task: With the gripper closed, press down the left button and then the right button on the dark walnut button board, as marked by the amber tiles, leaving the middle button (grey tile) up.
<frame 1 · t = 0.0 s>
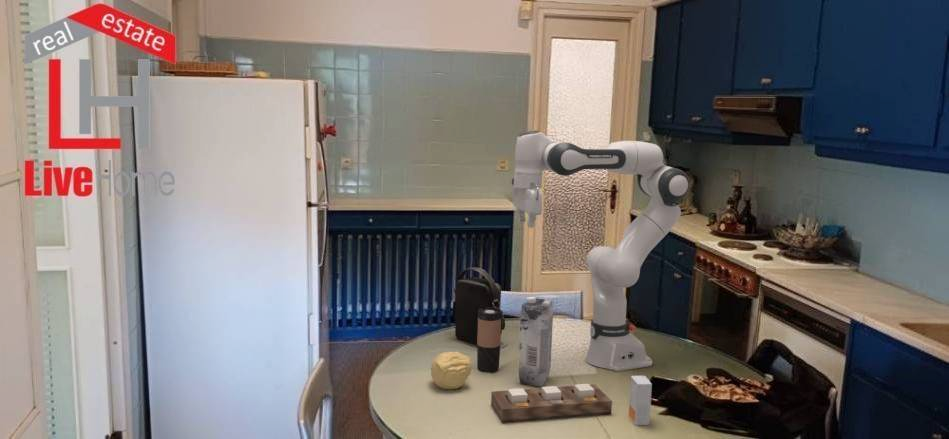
hand: (526, 224, 219), 48 cm above the table, fingers open, 8 cm apart
travel mug: (488, 369, 224), on the table
button board: (550, 409, 195), on the table
button 2: (583, 392, 196), point 5 cm above the table, slide at 0.0 cm
juice carton: (534, 381, 215), on the table
button 1: (517, 397, 192), point 4 cm above the table, slide at 0.0 cm
skincare box: (638, 421, 189), on the table
sculpture: (449, 385, 210), on the table
button middle: (551, 394, 194), point 4 cm above the table, slide at 0.0 cm
shoulder bag: (475, 342, 250), on the table
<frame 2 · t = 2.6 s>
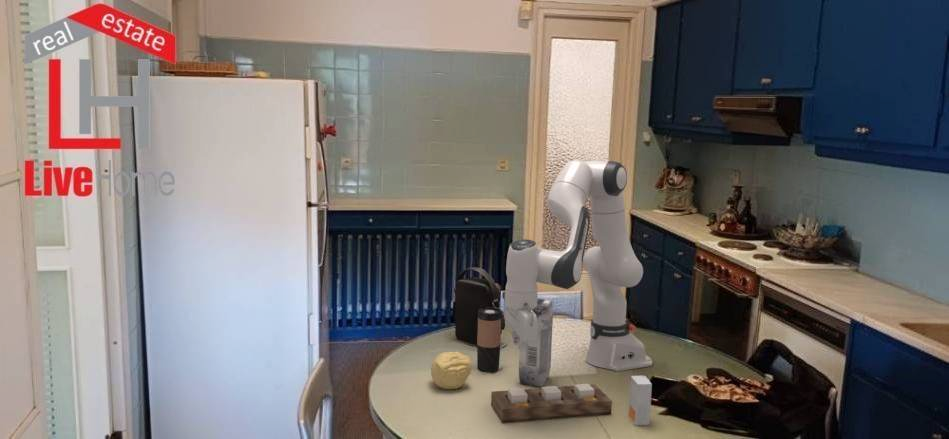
hand: (519, 347, 189), 19 cm above the table, fingers open, 4 cm apart
nothing on the table moved.
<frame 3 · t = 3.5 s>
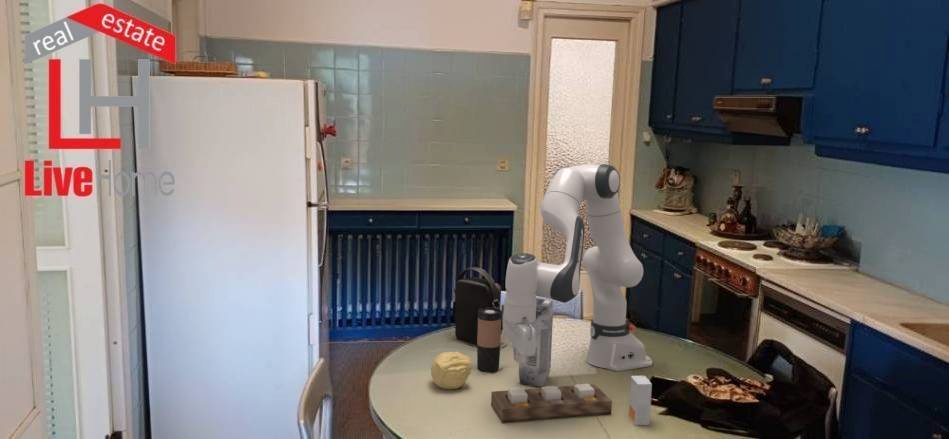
hand: (517, 360, 190), 15 cm above the table, fingers closed
nothing on the table moved.
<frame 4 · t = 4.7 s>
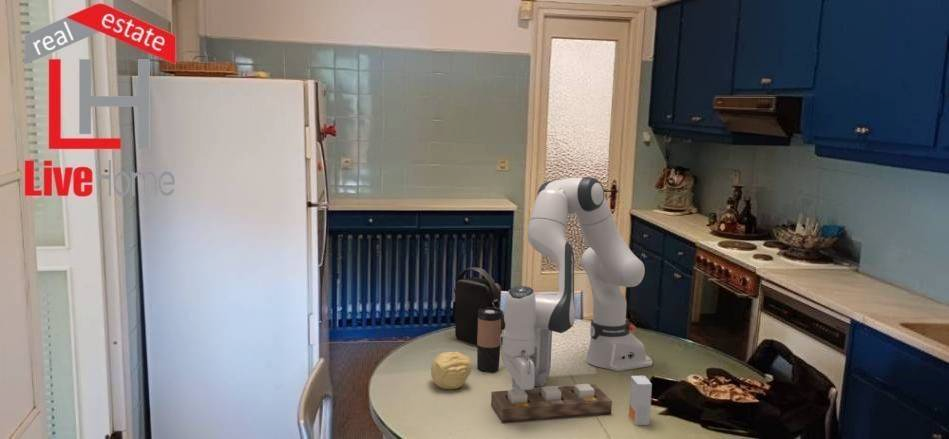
hand: (516, 392, 191), 6 cm above the table, fingers closed, pressing on button 1
button 1: (517, 397, 192), point 4 cm above the table, slide at 0.2 cm, touching gripper
everything else where it was.
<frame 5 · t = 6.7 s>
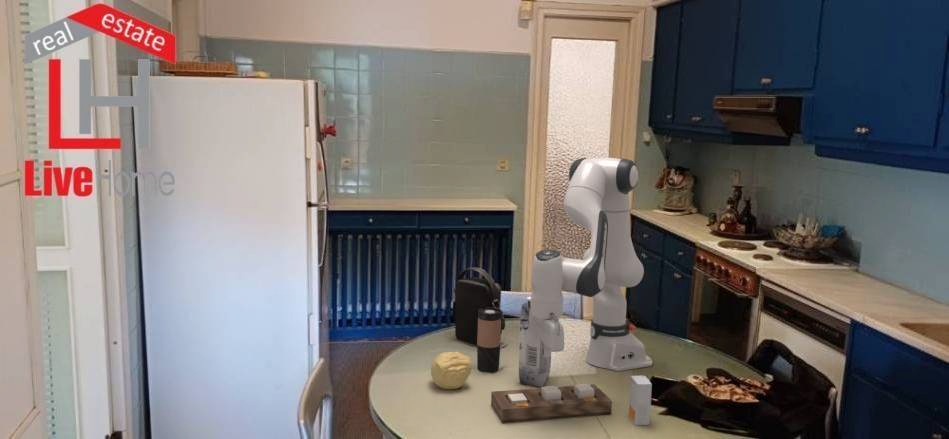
hand: (545, 355, 192), 16 cm above the table, fingers closed
button 1: (517, 402, 192), point 3 cm above the table, slide at 1.5 cm
everything else where it was.
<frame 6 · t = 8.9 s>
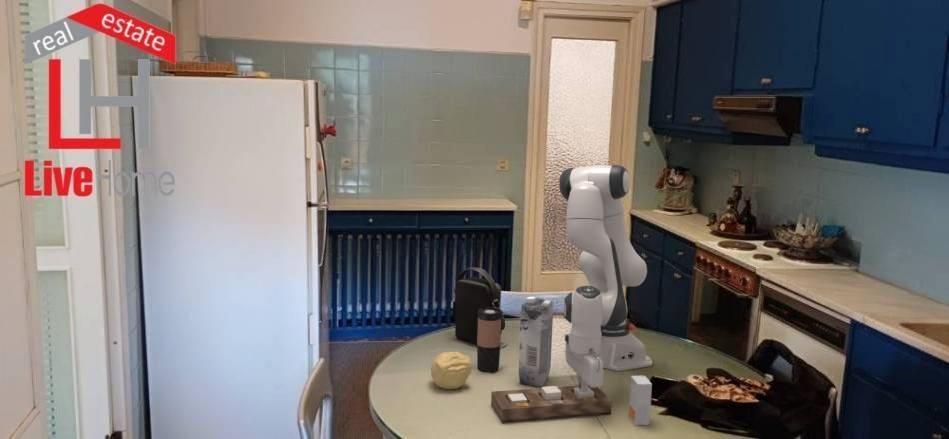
hand: (582, 389, 196), 5 cm above the table, fingers closed, pressing on button 2
button 2: (583, 394, 196), point 4 cm above the table, slide at 0.9 cm, touching gripper
everything else where it was.
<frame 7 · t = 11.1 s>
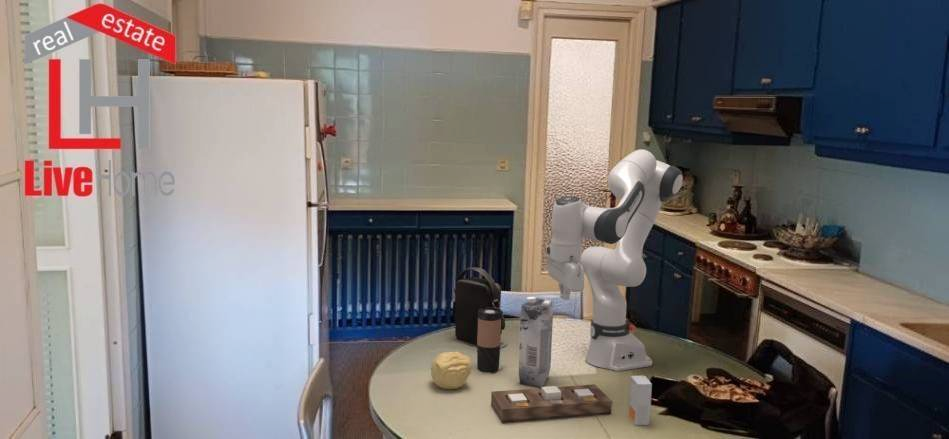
hand: (564, 298, 200), 30 cm above the table, fingers closed
button 2: (583, 397, 196), point 3 cm above the table, slide at 1.5 cm
everything else where it was.
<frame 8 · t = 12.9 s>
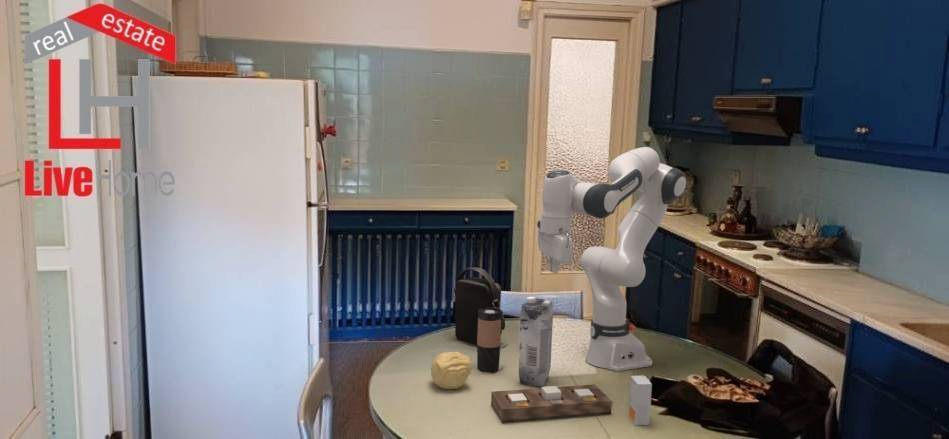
hand: (553, 272, 202), 37 cm above the table, fingers closed
nothing on the table moved.
at the end: button 1 slide at 1.5 cm; button 2 slide at 1.5 cm; button middle slide at 0.0 cm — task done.
